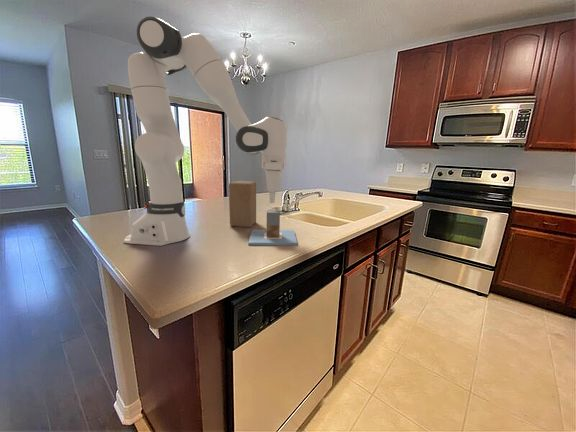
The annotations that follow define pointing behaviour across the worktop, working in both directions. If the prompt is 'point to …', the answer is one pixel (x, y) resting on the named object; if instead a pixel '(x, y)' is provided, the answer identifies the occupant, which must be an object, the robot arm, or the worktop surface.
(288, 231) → the board
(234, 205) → the block
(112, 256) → the worktop surface
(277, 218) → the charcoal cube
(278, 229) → the walnut cube
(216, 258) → the worktop surface
